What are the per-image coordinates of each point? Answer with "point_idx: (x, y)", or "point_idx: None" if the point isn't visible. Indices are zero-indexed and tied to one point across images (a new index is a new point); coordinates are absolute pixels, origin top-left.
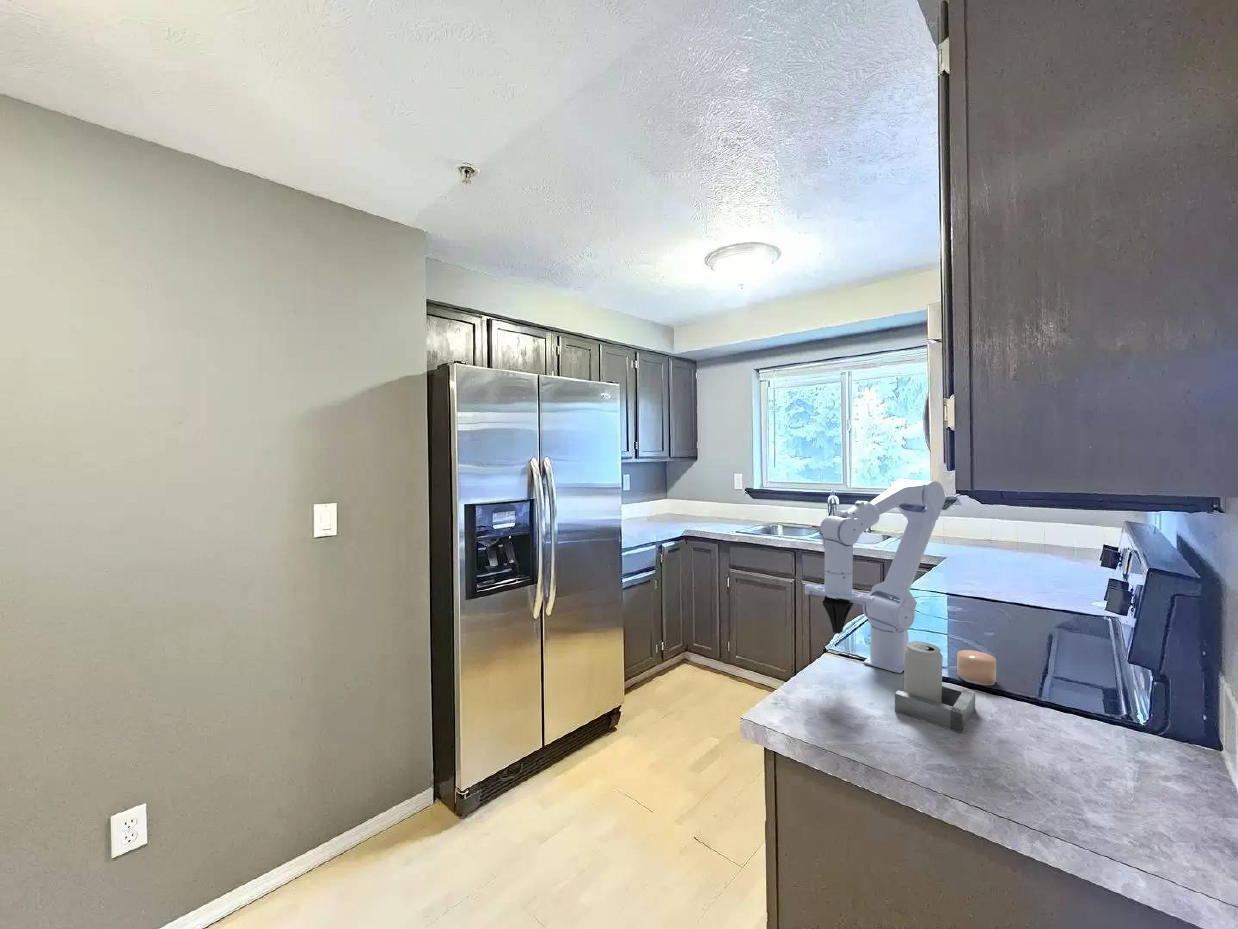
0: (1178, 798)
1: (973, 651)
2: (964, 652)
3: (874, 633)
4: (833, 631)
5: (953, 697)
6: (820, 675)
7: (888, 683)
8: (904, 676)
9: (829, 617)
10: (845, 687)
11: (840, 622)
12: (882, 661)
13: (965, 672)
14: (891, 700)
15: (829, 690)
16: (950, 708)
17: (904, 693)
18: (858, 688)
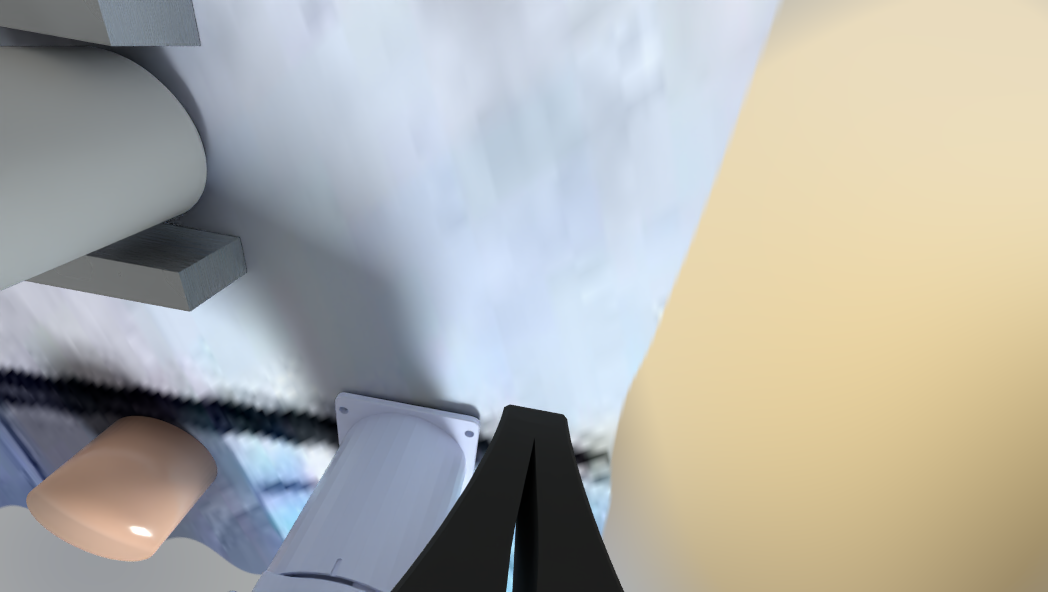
0: None
1: (125, 555)
2: (136, 541)
3: (394, 558)
4: (561, 420)
5: None
6: (631, 219)
7: (343, 295)
8: (56, 140)
9: (609, 565)
10: (484, 143)
11: (456, 502)
12: (397, 430)
13: (144, 451)
14: (261, 122)
15: (551, 43)
16: None
17: (60, 15)
18: (427, 170)
